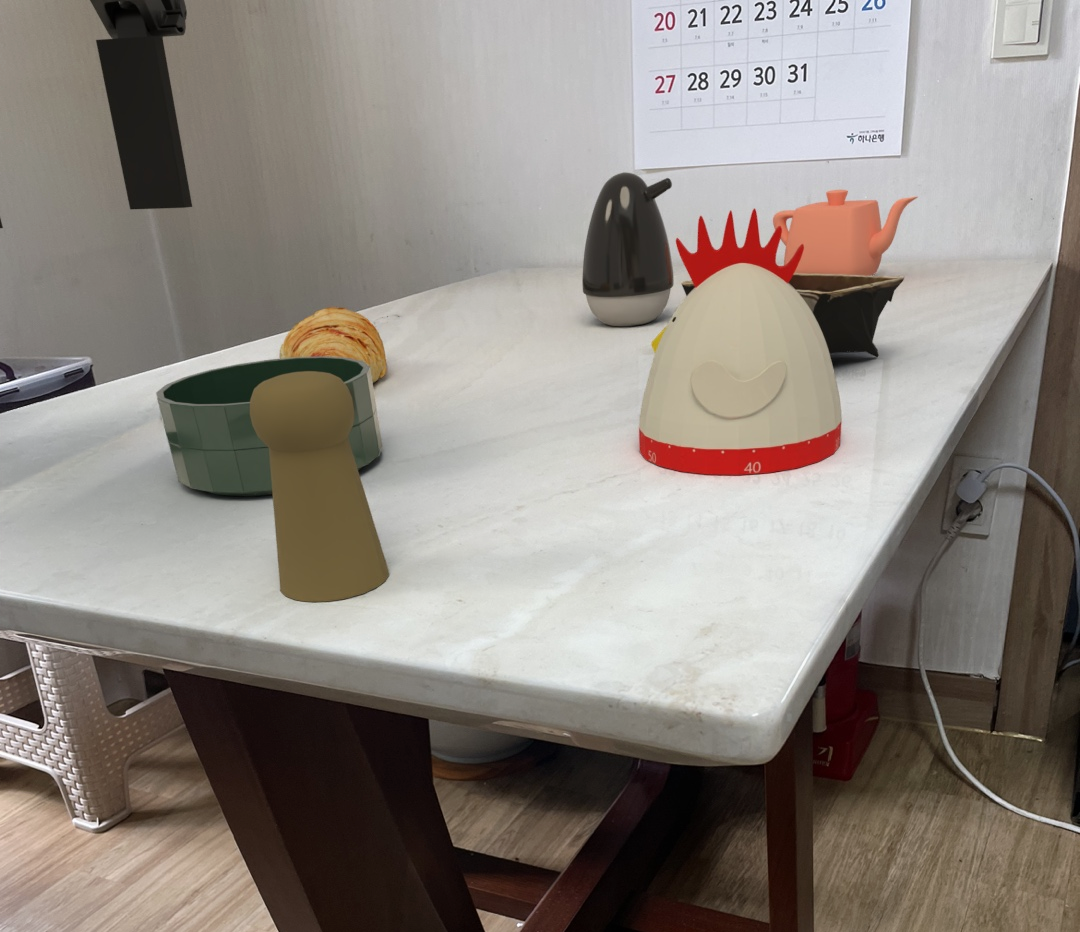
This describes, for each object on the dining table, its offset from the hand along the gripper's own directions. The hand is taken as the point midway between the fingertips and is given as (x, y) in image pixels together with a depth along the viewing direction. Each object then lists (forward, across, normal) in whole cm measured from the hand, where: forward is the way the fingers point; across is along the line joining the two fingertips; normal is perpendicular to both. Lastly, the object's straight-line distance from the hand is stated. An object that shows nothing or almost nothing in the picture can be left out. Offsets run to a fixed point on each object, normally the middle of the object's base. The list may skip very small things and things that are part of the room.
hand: (75, 218), depth 42 cm
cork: (+19, +9, -5) cm, 22 cm away
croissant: (+18, +59, +14) cm, 63 cm away
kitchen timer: (+17, +33, -26) cm, 46 cm away
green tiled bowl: (+18, +30, +7) cm, 36 cm away
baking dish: (+16, +59, -29) cm, 68 cm away
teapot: (+14, +105, -36) cm, 112 cm away
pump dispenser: (+16, +84, -12) cm, 86 cm away
